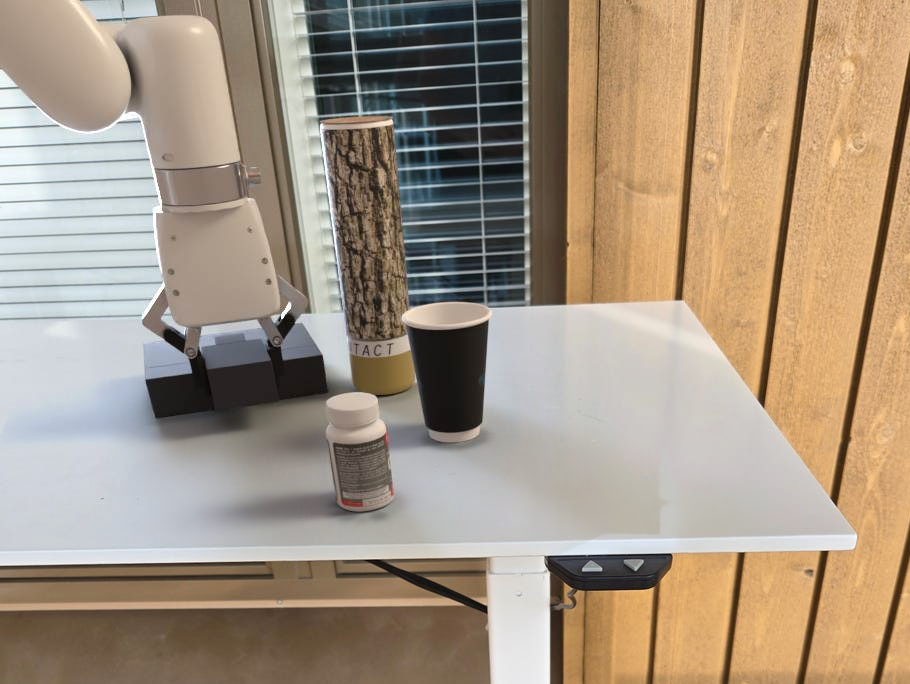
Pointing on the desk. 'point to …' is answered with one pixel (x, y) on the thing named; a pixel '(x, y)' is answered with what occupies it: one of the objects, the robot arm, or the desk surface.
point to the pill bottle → (358, 452)
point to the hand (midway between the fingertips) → (242, 387)
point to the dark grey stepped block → (239, 372)
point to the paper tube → (369, 249)
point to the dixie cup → (450, 366)
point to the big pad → (180, 396)
